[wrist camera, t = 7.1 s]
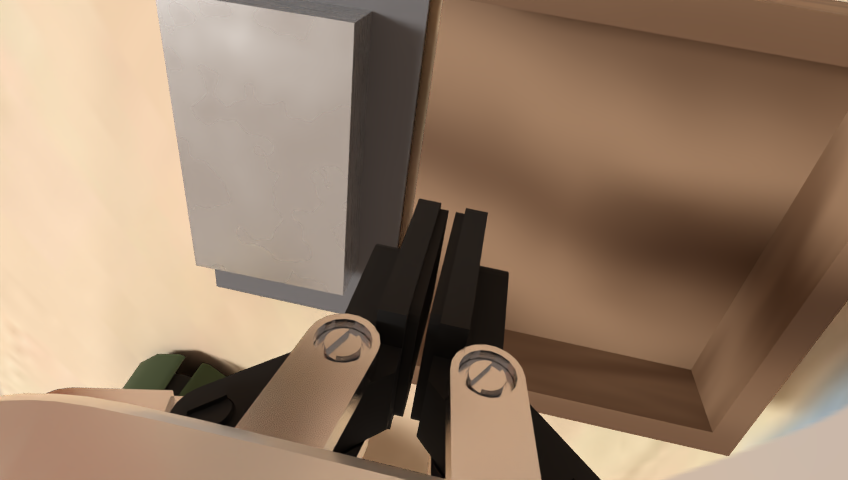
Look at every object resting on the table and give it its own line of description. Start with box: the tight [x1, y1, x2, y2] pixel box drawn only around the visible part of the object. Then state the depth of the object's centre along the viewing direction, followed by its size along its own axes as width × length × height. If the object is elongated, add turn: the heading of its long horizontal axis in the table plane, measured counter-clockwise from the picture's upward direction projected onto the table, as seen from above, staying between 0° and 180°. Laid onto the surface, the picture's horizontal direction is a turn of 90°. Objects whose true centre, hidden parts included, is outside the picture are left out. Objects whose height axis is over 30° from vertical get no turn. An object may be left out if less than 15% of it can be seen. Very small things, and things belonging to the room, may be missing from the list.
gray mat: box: [215, 0, 430, 314], centre depth 19 cm, size 16×8×1 cm, turn 172°
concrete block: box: [156, 0, 372, 295], centre depth 19 cm, size 10×6×2 cm, turn 173°
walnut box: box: [412, 0, 848, 456], centre depth 17 cm, size 14×13×4 cm
